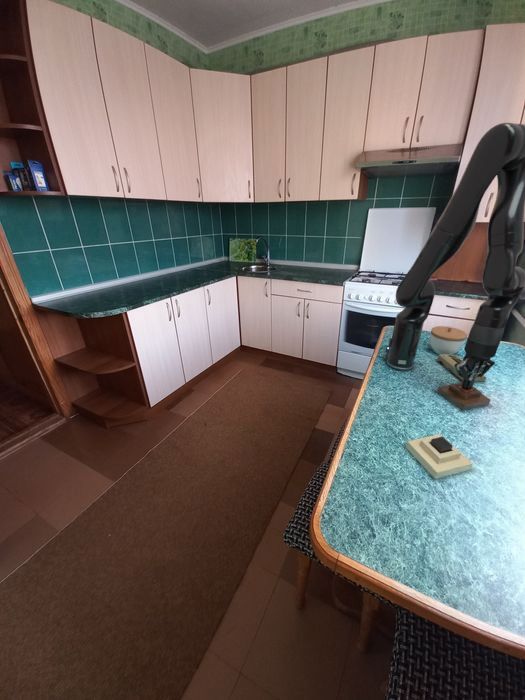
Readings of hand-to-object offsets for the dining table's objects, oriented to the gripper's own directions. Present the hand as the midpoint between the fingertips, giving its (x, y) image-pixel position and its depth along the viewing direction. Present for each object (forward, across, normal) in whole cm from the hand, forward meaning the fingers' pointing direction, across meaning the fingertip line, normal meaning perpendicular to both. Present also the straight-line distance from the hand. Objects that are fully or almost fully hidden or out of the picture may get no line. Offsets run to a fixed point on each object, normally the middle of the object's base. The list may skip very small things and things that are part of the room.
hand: (466, 388), depth 91 cm
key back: (+2, 0, 0) cm, 2 cm away
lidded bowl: (+4, -19, -28) cm, 34 cm away
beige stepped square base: (+4, +26, +18) cm, 32 cm away
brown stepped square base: (+4, 0, 0) cm, 4 cm away
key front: (+1, +26, +18) cm, 31 cm away
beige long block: (+4, -13, -14) cm, 20 cm away
